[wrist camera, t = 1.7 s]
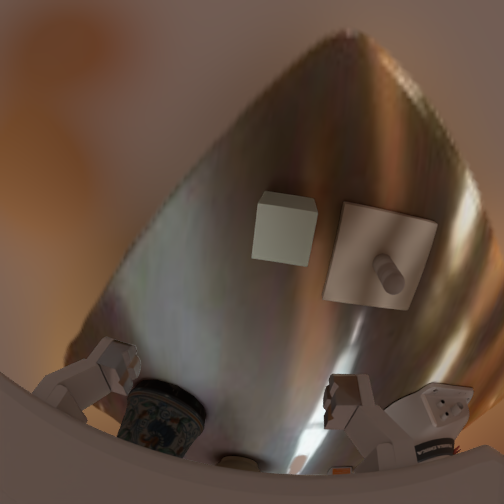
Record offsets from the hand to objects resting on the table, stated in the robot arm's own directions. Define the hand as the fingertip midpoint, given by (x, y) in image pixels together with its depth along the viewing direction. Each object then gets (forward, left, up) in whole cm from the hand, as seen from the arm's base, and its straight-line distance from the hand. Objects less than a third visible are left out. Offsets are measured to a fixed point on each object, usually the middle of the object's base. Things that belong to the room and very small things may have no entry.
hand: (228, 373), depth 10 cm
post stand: (-13, +3, -23) cm, 27 cm away
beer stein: (+16, +43, -23) cm, 51 cm away
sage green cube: (-1, 0, -23) cm, 23 cm away
